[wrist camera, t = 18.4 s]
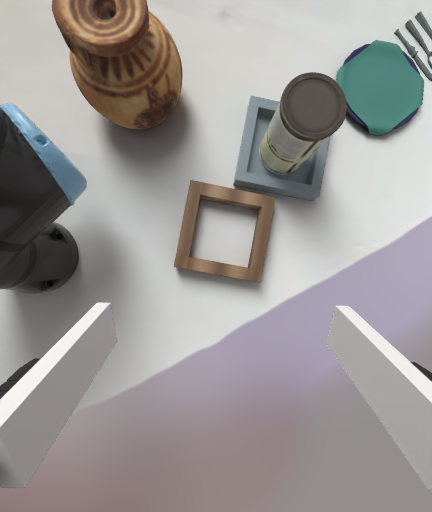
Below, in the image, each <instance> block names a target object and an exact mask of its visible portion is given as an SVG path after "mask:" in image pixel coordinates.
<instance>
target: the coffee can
mask: <svg viewBox="0 0 432 512" xmlns="http://www.w3.org/2000/svg"><path fill="white" fill-rule="evenodd" d="M346 111H347V101H346V97H345V95H344V92H343V90H342V89H341V87H340V86H339V84H338V83H337V82H336V81H335V80H333V79H332V78H330V77H329V76H326V75H324V74H321V73H313V72H311V73H305V74H301V75H299V76H297V77H295V78H294V79H293V80H292V81H290V82H289V84H288V85H287V86H286V88H285V90H284V92H283V94H282V97H281V100H280V102H279V104H278V107H277V109H276V111H275V113H274V116H273V118H272V120H271V123H270V125H269V127H268V129H267V131H266V134H265V136H264V138H263V140H262V141H261V144H260V148H259V155H260V159H261V162H262V163H263V165H264V166H265V167H266V168H267V169H268V170H269V171H270V172H272V173H274V174H278V175H287V174H291V173H293V172H295V171H296V170H297V169H298V168H299V167H300V166H301V165H302V164H303V163H304V162H305V161H306V160H307V159H308V158H309V157H310V156H311V155H312V154H313V153H314V152H315V151H316V150H317V149H318V148H319V147H320V146H321V145H322V143H323V142H324V141H325V140H326V139H327V138H328V137H329V136H330V135H332V134H333V133H334V132H335V131H337V130H338V129H339V128H340V126H341V125H342V123H343V121H344V119H345V116H346Z"/></svg>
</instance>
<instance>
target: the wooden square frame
mask: <svg viewBox="0 0 432 512" xmlns="http://www.w3.org/2000/svg"><path fill="white" fill-rule="evenodd" d="M201 199H205V200H210V201H215V202H220V203H225V204H230V205H235V206H240V207H245V208H250V209H255V210H258V215H257V221H256V226H255V232H254V237H253V243H252V248H251V254H250V259H249V264H248V268H246V267H240V266H235V265H230V264H224V263H219V262H214V261H208V260H203V259H198V258H192V257H190V252H191V247H192V242H193V236H194V231H195V226H196V221H197V215H198V210H199V205H200V200H201ZM275 199H276V197H271V196H266V195H262V194H257V193H252V192H247V191H242V190H237V189H232V188H227V187H222V186H217V185H212V184H207V183H202V182H198V181H193V180H190V185H189V191H188V196H187V201H186V206H185V211H184V216H183V222H182V227H181V232H180V237H179V242H178V247H177V253H176V258H175V263H174V267H179V268H184V269H189V270H195V271H200V272H206V273H211V274H216V275H222V276H227V277H233V278H238V279H243V280H249V281H254V282H259V283H260V282H261V277H262V271H263V266H264V260H265V254H266V249H267V243H268V238H269V232H270V227H271V221H272V216H273V210H274V205H275Z"/></svg>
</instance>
